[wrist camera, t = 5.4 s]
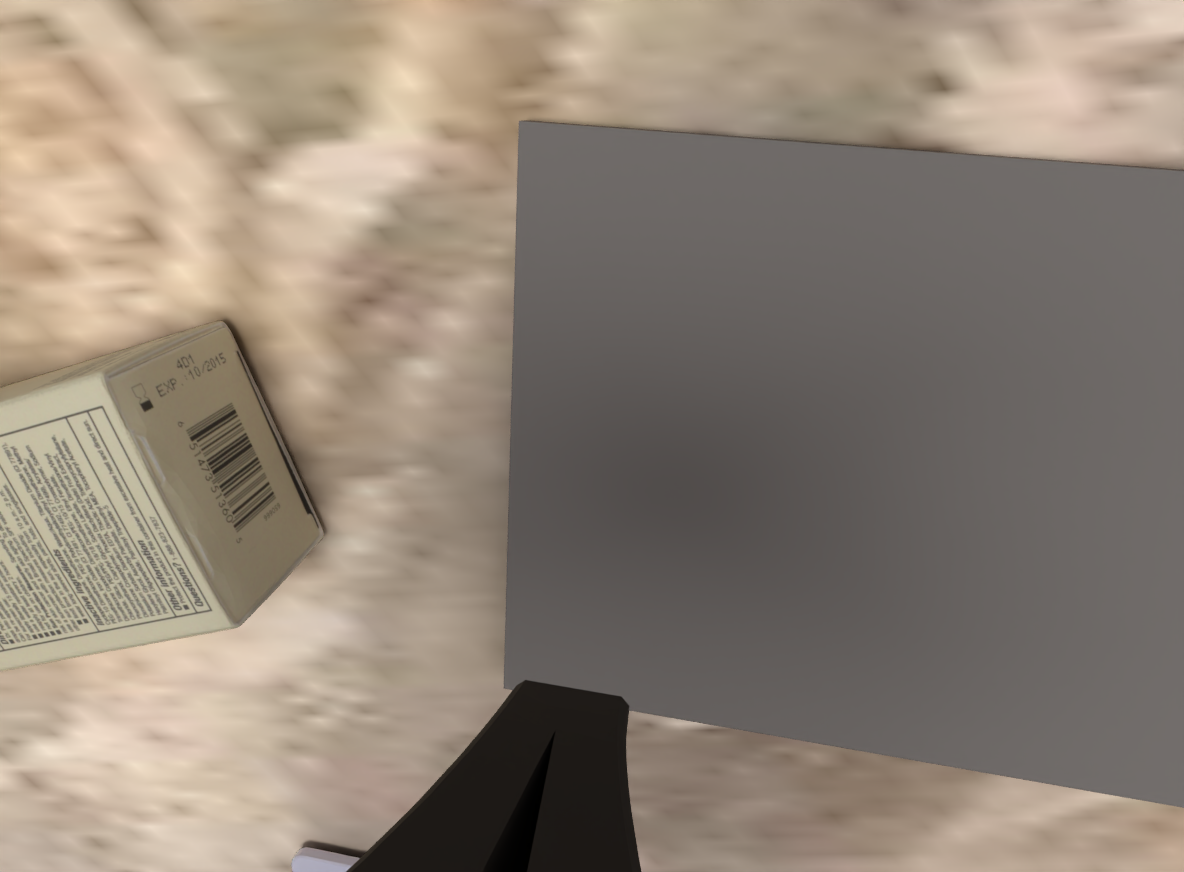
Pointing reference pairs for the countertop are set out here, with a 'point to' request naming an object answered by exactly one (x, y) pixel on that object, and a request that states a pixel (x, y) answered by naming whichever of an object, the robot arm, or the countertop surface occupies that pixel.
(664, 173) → the mat
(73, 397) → the skincare box
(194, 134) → the countertop surface
